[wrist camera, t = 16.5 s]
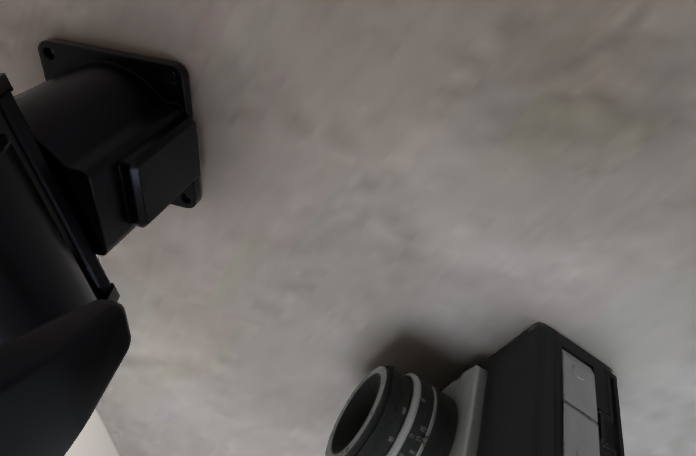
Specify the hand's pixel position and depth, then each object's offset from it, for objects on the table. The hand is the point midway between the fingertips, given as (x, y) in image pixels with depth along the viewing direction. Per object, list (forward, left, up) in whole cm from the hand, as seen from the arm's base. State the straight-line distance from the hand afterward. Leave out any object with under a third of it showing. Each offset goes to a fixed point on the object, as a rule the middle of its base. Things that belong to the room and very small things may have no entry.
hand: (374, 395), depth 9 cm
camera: (+2, -15, -13) cm, 20 cm away
